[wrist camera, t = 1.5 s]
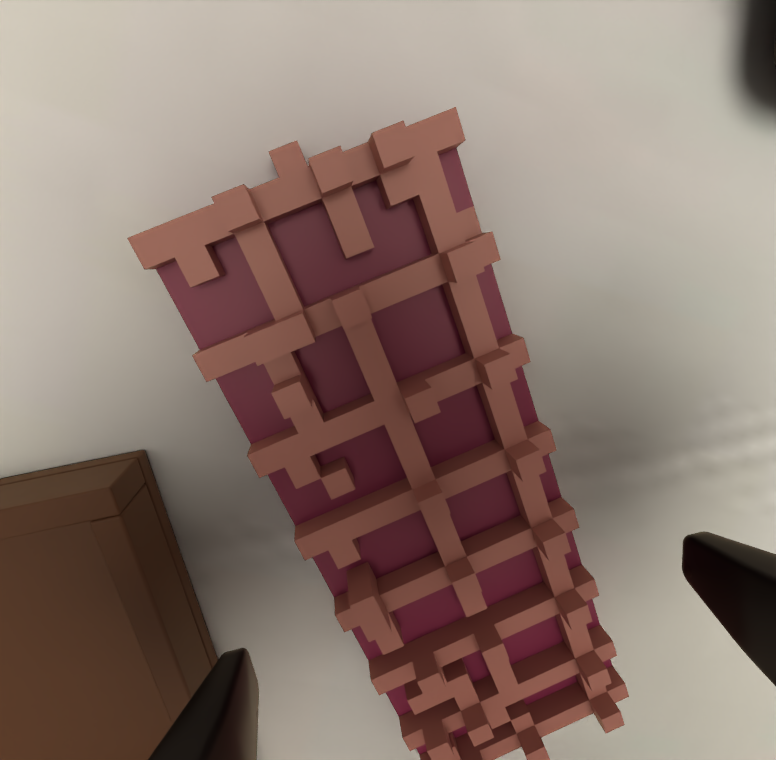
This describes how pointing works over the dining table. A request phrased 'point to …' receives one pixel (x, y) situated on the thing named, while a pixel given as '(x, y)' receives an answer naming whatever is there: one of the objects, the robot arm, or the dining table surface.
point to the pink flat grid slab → (400, 432)
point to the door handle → (775, 53)
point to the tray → (93, 614)
